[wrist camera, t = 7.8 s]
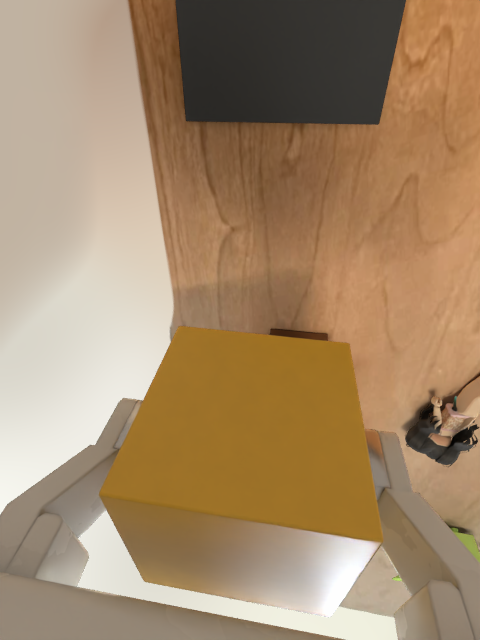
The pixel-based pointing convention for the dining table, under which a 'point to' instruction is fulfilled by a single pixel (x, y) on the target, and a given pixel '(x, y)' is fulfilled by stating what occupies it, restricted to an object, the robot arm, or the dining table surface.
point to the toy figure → (447, 426)
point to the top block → (249, 472)
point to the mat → (287, 59)
